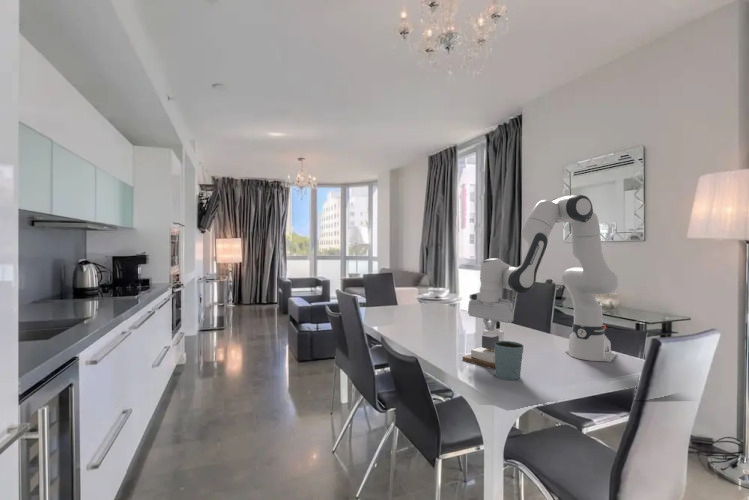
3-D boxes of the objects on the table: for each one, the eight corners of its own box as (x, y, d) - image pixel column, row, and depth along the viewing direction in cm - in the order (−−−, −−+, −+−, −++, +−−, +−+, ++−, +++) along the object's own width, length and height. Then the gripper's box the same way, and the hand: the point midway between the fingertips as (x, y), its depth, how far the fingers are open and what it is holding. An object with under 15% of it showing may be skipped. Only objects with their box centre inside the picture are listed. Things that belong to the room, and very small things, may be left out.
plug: (491, 348, 170) (492, 333, 170) (500, 350, 166) (500, 335, 166) (481, 351, 166) (482, 335, 165) (490, 353, 162) (491, 337, 162)
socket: (486, 352, 173) (486, 344, 173) (509, 358, 165) (509, 349, 165) (471, 356, 166) (471, 348, 166) (493, 363, 158) (493, 354, 158)
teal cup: (490, 372, 151) (490, 340, 151) (516, 371, 152) (516, 340, 152) (500, 381, 141) (500, 347, 141) (527, 380, 142) (528, 347, 142)
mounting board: (485, 353, 177) (485, 350, 177) (518, 362, 164) (518, 358, 164) (462, 360, 167) (462, 356, 167) (495, 369, 154) (495, 365, 154)
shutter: (489, 351, 168) (489, 349, 168) (495, 353, 166) (495, 351, 166) (484, 353, 166) (484, 351, 166) (490, 354, 163) (490, 352, 163)
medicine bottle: (491, 342, 197) (491, 318, 197) (503, 345, 192) (504, 321, 192) (482, 345, 193) (482, 320, 193) (495, 348, 187) (495, 322, 187)
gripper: (517, 299, 159) (516, 333, 159) (475, 294, 175) (474, 325, 175) (508, 300, 155) (507, 335, 155) (466, 294, 171) (465, 326, 171)
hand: (489, 330), depth 165 cm, fingers closed
